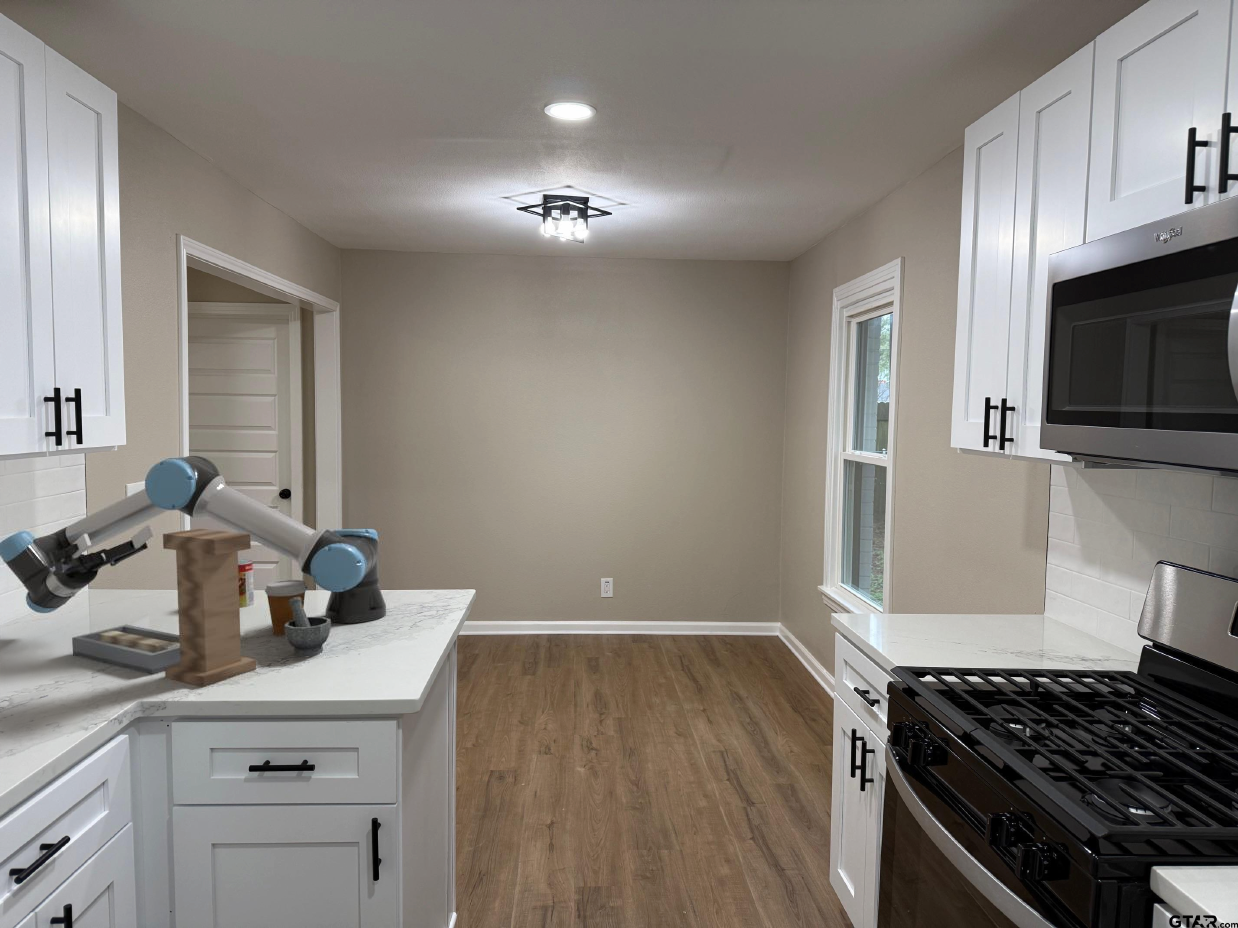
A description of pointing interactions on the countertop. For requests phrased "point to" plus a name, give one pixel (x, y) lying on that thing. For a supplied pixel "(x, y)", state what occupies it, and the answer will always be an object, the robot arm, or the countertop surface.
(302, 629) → the mortar and pestle
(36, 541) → the robot arm
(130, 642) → the bar
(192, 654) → the post stand
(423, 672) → the countertop surface
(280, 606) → the disposable coffee cup
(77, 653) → the tray
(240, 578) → the canned food
